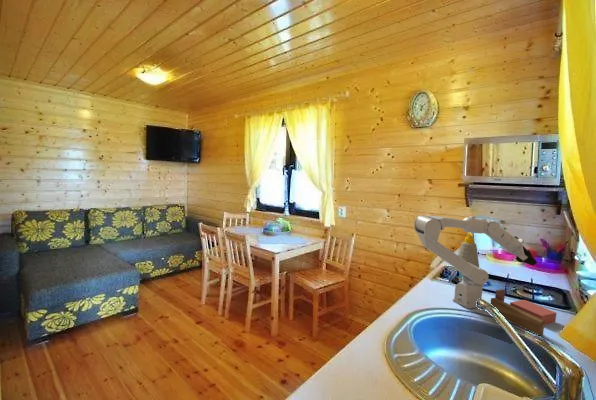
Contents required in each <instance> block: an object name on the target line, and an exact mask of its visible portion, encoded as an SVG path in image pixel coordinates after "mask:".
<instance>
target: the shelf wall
mask: <svg viewBox="0 0 596 400" xmlns="http://www.w3.org/2000/svg"><path fill="white" fill-rule="evenodd" d="M489 303H490V304H492V305H493V306H494V307H496V308H497V309H498V310H499V312H500V313H501V314H502V315H503V316H504V317H505V318H506V319H505V318H504V319H505V320H507V321H509V322H511V323H512V324H514V325H517V326H518V327H520V326H521V327H520V328H522V327H523V328H522V329H524V328H526V329H527V330H526V329H525V330H526V331H528V330H530V331H532V332H534V333H536V334H538V335H541V336H540V337H542V336H544V331H545V325H544V324H545V321H544V320H541V319H539V318H537V317H535V316H533V315H531V314H529V313H527V312H524V311H522V310H520V309H518V308H516V307H514V306H512V305H510V303H507V302H505V301H504V302H503V301H501V300H499V299H497V298H495V297H491V298H490V302H489ZM530 331H529V332H530ZM532 332H531V333H532Z"/></svg>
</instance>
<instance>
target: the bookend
mask: <svg viewBox="0 0 596 400" xmlns="http://www.w3.org/2000/svg"><path fill="white" fill-rule="evenodd" d="M505 294H506V289H504V288H503V289H496V290H495V296H494V298H497V299H499V300H501V301H503V302H505V298H506V295H505Z"/></svg>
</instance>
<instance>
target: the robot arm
mask: <svg viewBox="0 0 596 400" xmlns="http://www.w3.org/2000/svg"><path fill="white" fill-rule="evenodd" d="M413 224H414V225H413V228H414V231H415V232H416V234H417V235H418V239H419V241H420V243H421V245H422V247H424V248H426V249H427V250H428V251H430V252H431V253H433V255H436V256H437V257H438V258H440V259H441V260H443V261H444V262H446V263H448V264H449V265H451V266H452V267H453V268H454V267H455V268H456V269H457V270H458V271H459V272H460V274H461V275H462V279H463V280H462V281H461V282H458V283H457V284H456V285H455V289H454V298H452V301H454V302H455V303H457V304H459V305H461V306H463V307H464V308H466V309H474V308H477V307H476V301H477V299H479V298H480V299H481V300H482V299H483V298H482V297H483V287H484V286H485V284H487V282H488V280H489V273H488V271H486V270H485V269H484V268H480V267H479V268H478V267H476V266H474V265H473V264H471V263H469V262H467V261H465V260H464V259H462V258H461V257H459V256H458V254H456V253H455V252H453V251H452V250H451V249H449V248H448V247H446V246H444V245H443V243H441V242H439V237H440V234H441V231H444V230H445V228H446V227H447V228H459V229H462V231H463V232H465V233H473V234H484V235H486V236H487V237H489V238H490V239H491V240H492V241H494V242H495V243H496V244H498V245H499V246H500V247H502V248H503V249H505V250H506V251H507V252H508V253H509V254H511V255H513V256H516V257H515V260H516V261H517V262H519V263H523V264H527V265H529V266H533V267H534V266H535V265H536V264H538V261H537V260H536V258H534V257H533V254H532V252H531V251H530V250H527V248H526V247H525V246H524V245H523V243H524V239H523V238H519V237H518V236H517V235H516V236H513V234H511V233H510V232H509V231H507V230H505V229H504V228H503V227H502V225H501V224H500V222H498V221H493V220H490V219H487V218H484V217H481V218H475V216H472V215H469V217H468V216H467V217H465V218H463V219H459V218H454V217H453V218H452V217H448V216H447V217H446V216H439V215H427V216H426V215H423V214H421V215H419V216H416V218H415V219H414V222H413ZM457 270H456V271H457ZM458 271H457V272H458ZM459 272H458V273H459ZM460 274H459V275H460Z"/></svg>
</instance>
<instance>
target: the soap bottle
mask: <svg viewBox="0 0 596 400" xmlns="http://www.w3.org/2000/svg"><path fill="white" fill-rule="evenodd" d="M473 234H474V233H472V232H467V235H466V237H464V241H462V242H461V245H460V247H459V251H458V254H457V255H458V256H459V257H461V258H462V259H464V260H465V261H467V262H469V263H471V264H473V265H474V266H476V267H478V268H480V264H479V263H480V261H479V254H478V247H477V246H478V245H477V243H475V238H474V235H473ZM453 269H454V270H455V271H457V272H458V270H457V269H456V268H455V267H453Z"/></svg>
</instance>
